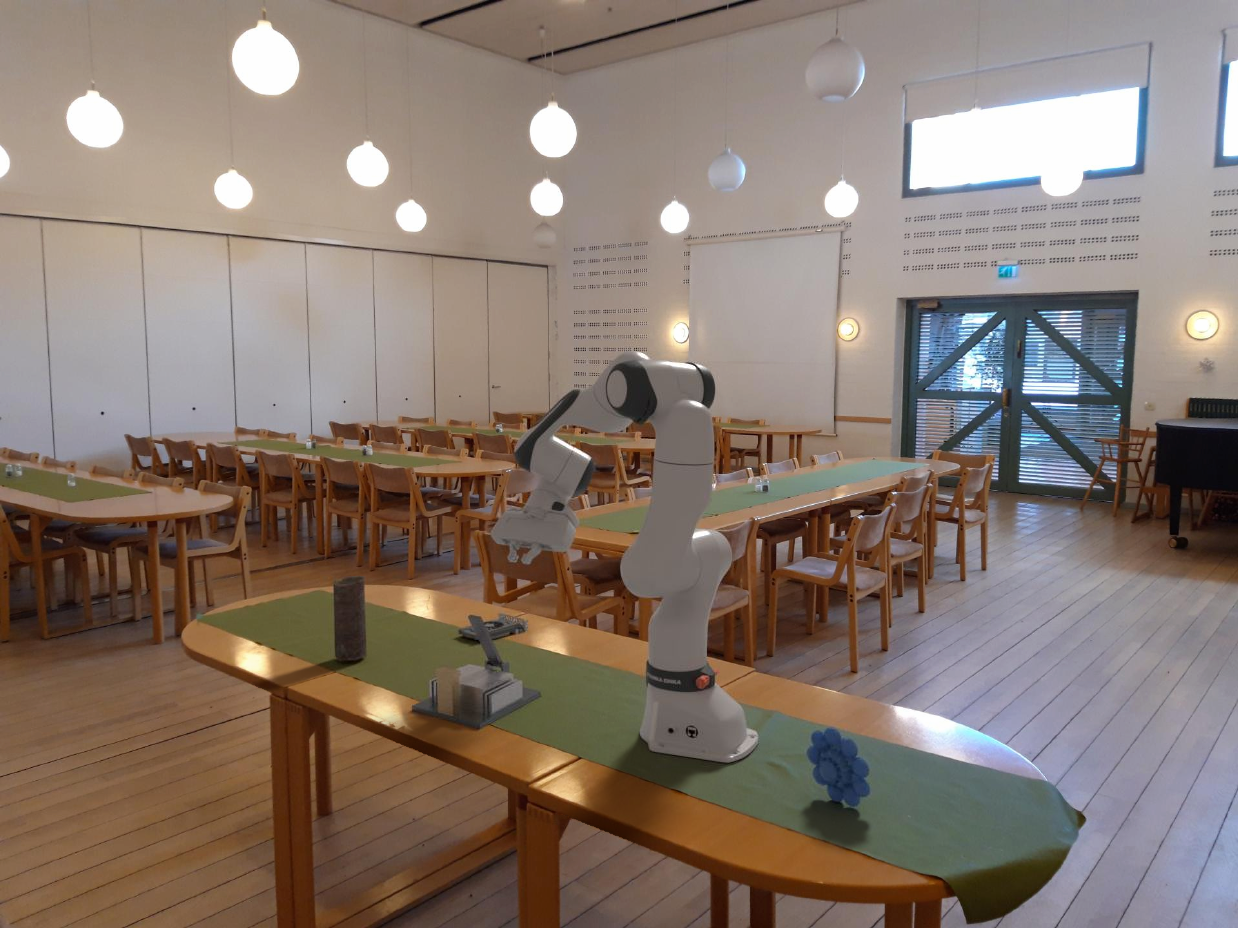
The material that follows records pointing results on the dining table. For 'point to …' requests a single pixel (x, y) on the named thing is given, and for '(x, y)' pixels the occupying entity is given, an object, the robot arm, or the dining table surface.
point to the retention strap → (485, 640)
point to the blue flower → (838, 766)
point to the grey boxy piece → (474, 694)
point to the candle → (349, 618)
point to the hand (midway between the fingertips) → (518, 561)
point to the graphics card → (498, 627)
